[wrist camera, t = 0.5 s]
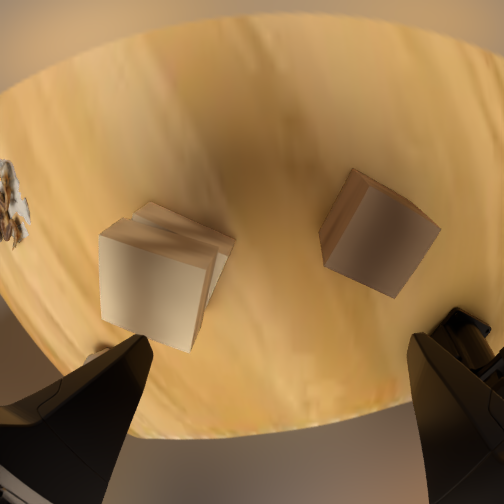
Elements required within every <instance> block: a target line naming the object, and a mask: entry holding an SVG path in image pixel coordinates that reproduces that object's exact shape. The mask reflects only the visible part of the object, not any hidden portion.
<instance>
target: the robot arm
mask: <svg viewBox="0 0 504 504" xmlns="http://www.w3.org/2000/svg"><path fill="white" fill-rule="evenodd" d="M490 331H491V327H490V326H489V325H488V324H486V323H485V322H483V321H481V320H479V319H478V318H476V317H474V316H472V315H470V314H469V313H467V312H465V311H463V310H461V309H460V308H454V309H453V310H452V311H451V312H450V314H449V315H448V316H447V317H446V319H445V320H444V321H443V322H442V323H441V325H440V326H439V327H438V328H437V329H436V331H435V332H434V333H433V334H432V335H431V336H430V337H429V336H428V335H427V334H426V333H424V332H421V333H414V334H412V336H411V339H410V343H409V347H408V351H407V363H408V370H409V378H410V386H411V395H412V401H413V406H414V410H415V415H416V420H417V425H418V430H419V435H420V440H421V446H422V452H423V458H424V465H425V471H426V479H427V487H428V497H429V504H504V347H503V348H502V349H501V350H500V351H499V353H498V354H497V355H496V356H495V355H494V353H493V352H492V350H491V348H490V346H489V345H488V343H487V341H486V339H485V337H486V336H487V335H488V334H489V333H490ZM152 360H153V351H152V348H151V346H150V343H149V341H148V339H147V337H146V336H145V335H140V334H135V335H133V336H131V337H130V338H128V339H126V340H125V341H123V342H121V343H120V344H118V345H116V346H115V347H113V348H111V349H110V350H108V351H106V352H105V353H103V354H101V355H100V356H98V357H96V358H95V359H93V360H91V361H90V362H88V363H86V364H85V365H83V366H81V367H80V368H78V369H76V370H75V371H73V372H71V373H69V374H68V375H66V376H64V377H63V379H62V378H61V379H59V380H58V381H56V382H54V383H53V384H51V385H49V386H47V387H45V388H44V389H42V390H40V391H38V392H36V393H34V394H32V395H30V396H27V397H25V398H24V399H22V400H19V401H17V402H15V403H13V404H10V405H6V406H0V504H102V501H103V498H104V495H105V492H106V489H107V486H108V482H109V480H110V477H111V475H112V472H113V469H114V467H115V464H116V461H117V458H118V456H119V453H120V450H121V447H122V445H123V442H124V440H125V437H126V434H127V432H128V429H129V427H130V424H131V421H132V419H133V416H134V414H135V411H136V409H137V406H138V404H139V401H140V399H141V396H142V394H143V391H144V388H145V384H146V381H147V377H148V374H149V370H150V367H151V363H152Z"/></svg>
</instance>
